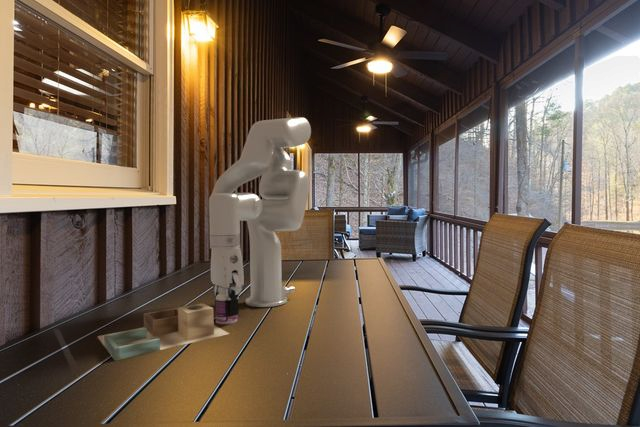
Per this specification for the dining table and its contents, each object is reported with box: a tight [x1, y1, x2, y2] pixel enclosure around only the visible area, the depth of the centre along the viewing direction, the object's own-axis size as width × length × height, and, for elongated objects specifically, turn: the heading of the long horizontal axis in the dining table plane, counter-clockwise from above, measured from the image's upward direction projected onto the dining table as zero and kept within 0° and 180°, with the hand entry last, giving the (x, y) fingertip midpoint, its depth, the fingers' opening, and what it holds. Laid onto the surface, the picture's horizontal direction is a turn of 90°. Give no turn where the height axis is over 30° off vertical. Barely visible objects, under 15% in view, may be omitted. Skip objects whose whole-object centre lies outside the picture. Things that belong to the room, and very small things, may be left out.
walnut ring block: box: [143, 307, 179, 336], centre depth 97 cm, size 8×8×4 cm
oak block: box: [177, 302, 215, 340], centre depth 93 cm, size 6×6×6 cm
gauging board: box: [96, 324, 231, 361], centre depth 92 cm, size 24×18×3 cm
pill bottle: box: [214, 285, 238, 325], centre depth 103 cm, size 5×5×10 cm
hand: (226, 312), depth 103 cm, fingers closed on pill bottle, 5 cm apart
